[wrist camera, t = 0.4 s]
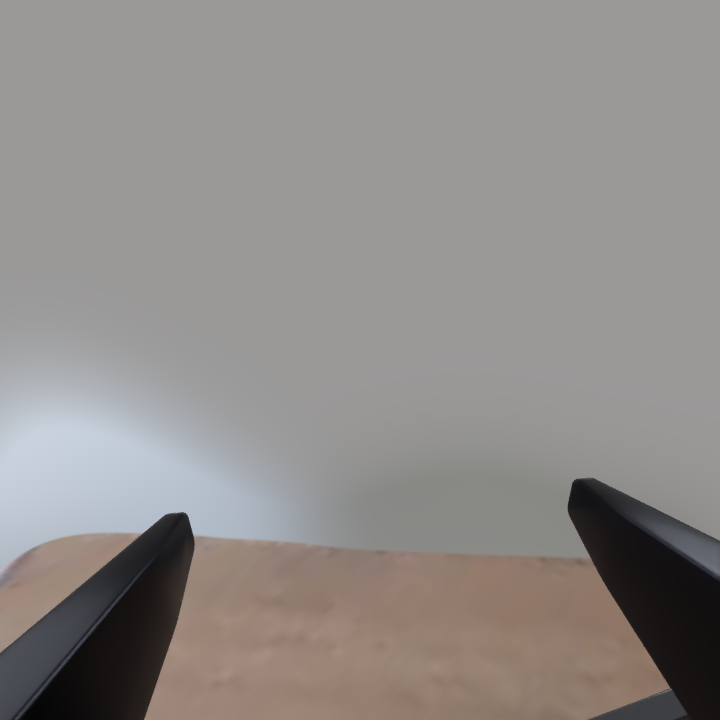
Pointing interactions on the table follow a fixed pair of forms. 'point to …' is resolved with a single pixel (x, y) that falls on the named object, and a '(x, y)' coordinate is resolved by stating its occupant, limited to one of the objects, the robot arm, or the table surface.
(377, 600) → the table surface
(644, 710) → the open storage bin
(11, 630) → the table surface
